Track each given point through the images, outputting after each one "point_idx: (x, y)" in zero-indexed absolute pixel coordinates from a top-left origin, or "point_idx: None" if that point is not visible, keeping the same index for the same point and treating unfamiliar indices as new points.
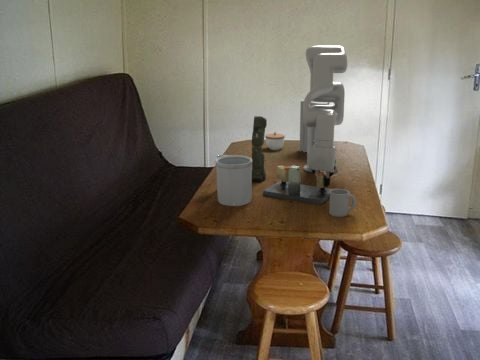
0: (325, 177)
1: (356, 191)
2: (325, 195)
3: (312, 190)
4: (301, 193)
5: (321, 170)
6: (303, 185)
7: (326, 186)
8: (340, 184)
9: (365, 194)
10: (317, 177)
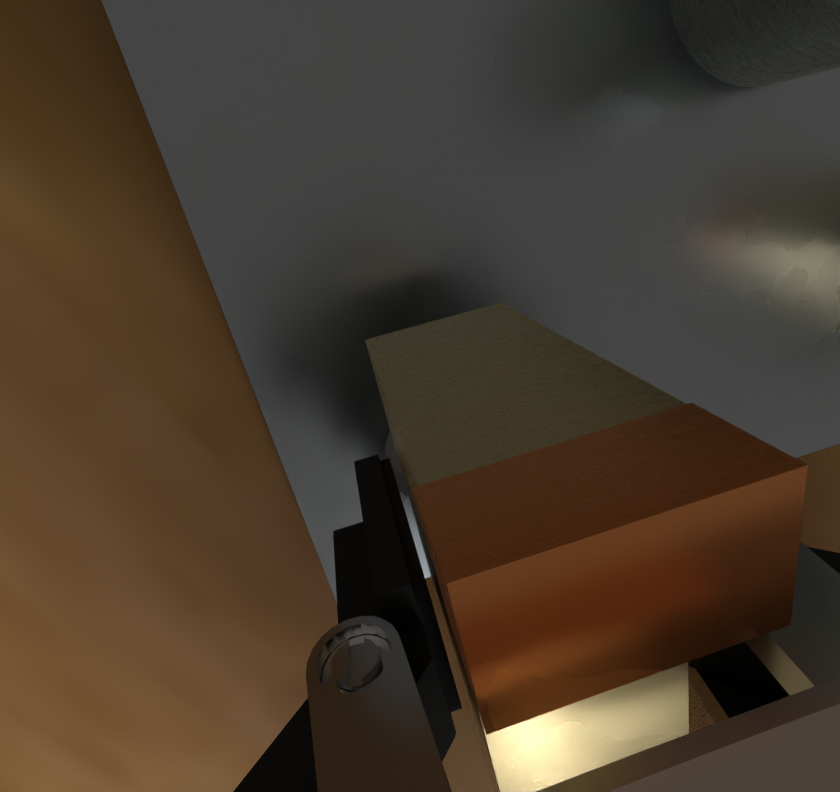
0: (450, 627)
1: (207, 775)
2: (230, 258)
3: (572, 339)
4: (654, 41)
5: (680, 757)
6: (776, 432)
7: (356, 473)
8: (481, 788)
9: (46, 784)
10: (600, 383)
